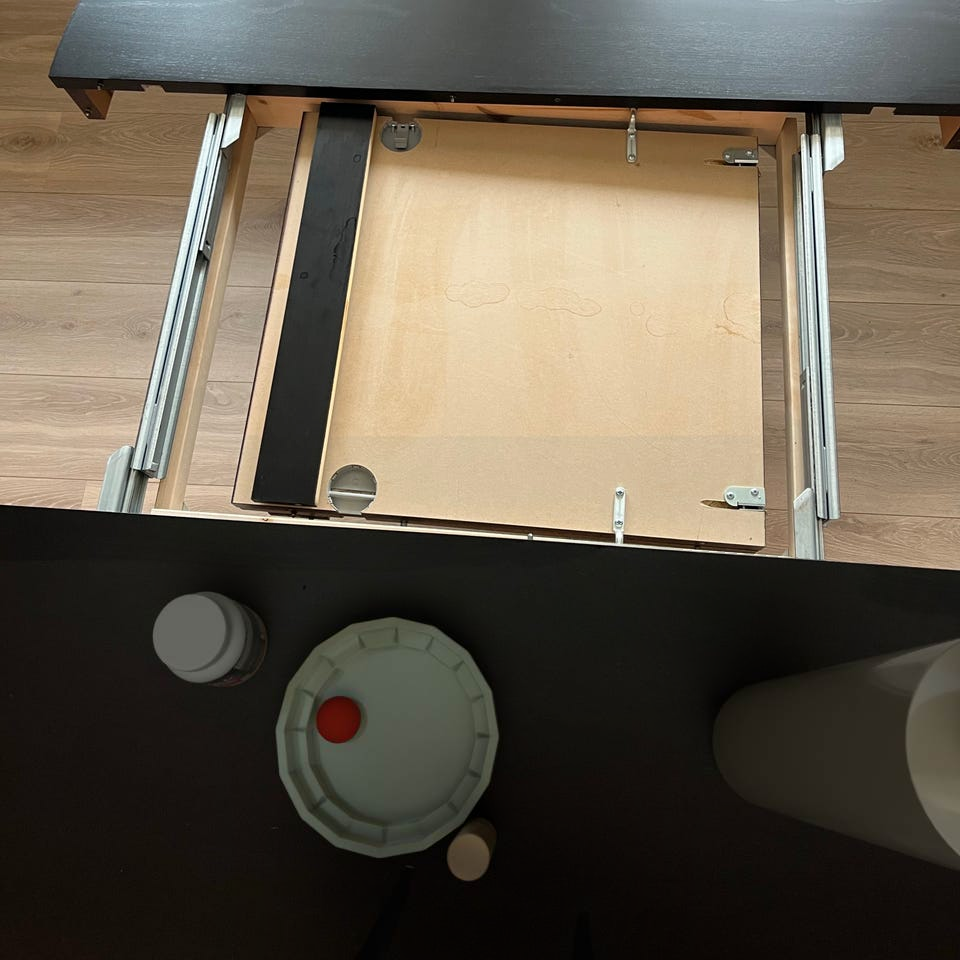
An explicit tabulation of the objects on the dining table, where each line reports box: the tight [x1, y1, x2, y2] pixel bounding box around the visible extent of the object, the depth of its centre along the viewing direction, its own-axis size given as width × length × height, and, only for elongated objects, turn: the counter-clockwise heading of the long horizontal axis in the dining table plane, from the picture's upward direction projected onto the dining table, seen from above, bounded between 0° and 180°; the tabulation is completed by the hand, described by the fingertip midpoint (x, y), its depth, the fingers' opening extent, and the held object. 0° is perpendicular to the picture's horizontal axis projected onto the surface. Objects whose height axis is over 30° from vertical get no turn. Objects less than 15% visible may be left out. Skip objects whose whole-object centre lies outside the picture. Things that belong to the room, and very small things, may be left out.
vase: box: [711, 636, 960, 873], centre depth 50 cm, size 8×8×46 cm
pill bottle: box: [152, 591, 268, 687], centre depth 71 cm, size 6×6×10 cm
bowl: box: [274, 616, 502, 859], centre depth 70 cm, size 14×14×5 cm
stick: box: [446, 817, 498, 882], centre depth 65 cm, size 2×2×12 cm
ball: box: [316, 696, 361, 744], centre depth 71 cm, size 3×3×3 cm
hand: (496, 889), depth 55 cm, fingers open, 9 cm apart
